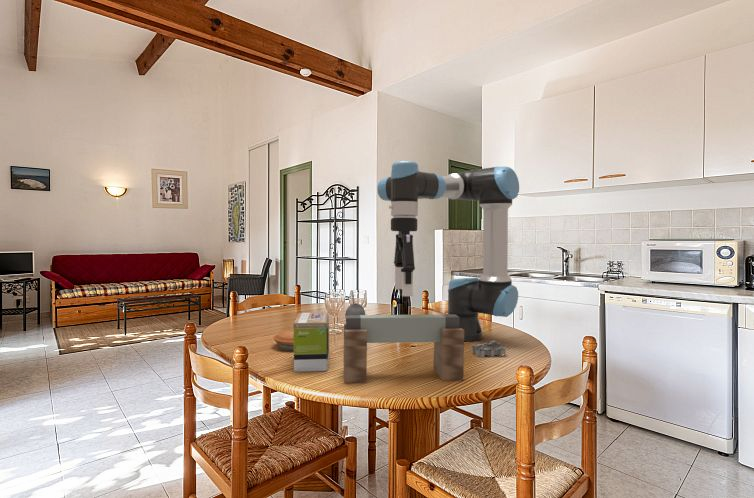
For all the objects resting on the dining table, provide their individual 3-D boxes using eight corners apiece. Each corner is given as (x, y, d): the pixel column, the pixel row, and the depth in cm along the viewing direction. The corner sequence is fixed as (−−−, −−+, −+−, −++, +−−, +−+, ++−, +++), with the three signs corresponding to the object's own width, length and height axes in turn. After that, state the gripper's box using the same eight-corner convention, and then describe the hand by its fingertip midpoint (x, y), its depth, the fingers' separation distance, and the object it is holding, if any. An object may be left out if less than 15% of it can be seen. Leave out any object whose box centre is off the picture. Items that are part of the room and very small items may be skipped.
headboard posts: (453, 368, 125) (454, 322, 124) (463, 380, 115) (464, 330, 114) (343, 370, 121) (344, 323, 121) (344, 382, 112) (344, 331, 111)
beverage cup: (362, 351, 141) (363, 293, 141) (342, 349, 143) (342, 292, 142) (367, 345, 149) (368, 290, 148) (347, 344, 150) (348, 289, 149)
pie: (263, 348, 143) (263, 334, 143) (292, 338, 157) (292, 325, 157) (298, 355, 136) (298, 340, 136) (326, 344, 150) (326, 330, 150)
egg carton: (498, 351, 144) (499, 339, 144) (507, 357, 137) (508, 345, 137) (469, 351, 143) (469, 339, 143) (476, 358, 136) (477, 345, 136)
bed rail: (454, 338, 121) (455, 314, 121) (458, 341, 117) (459, 317, 117) (345, 339, 118) (345, 315, 118) (345, 343, 114) (346, 318, 114)
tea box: (298, 356, 135) (298, 311, 134) (329, 356, 135) (329, 311, 135) (292, 372, 120) (293, 321, 119) (327, 371, 120) (328, 321, 120)
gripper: (385, 218, 128) (384, 286, 129) (397, 215, 104) (396, 299, 104) (409, 218, 129) (408, 286, 130) (426, 216, 104) (425, 299, 105)
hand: (403, 292), depth 117 cm, fingers open, 13 cm apart
